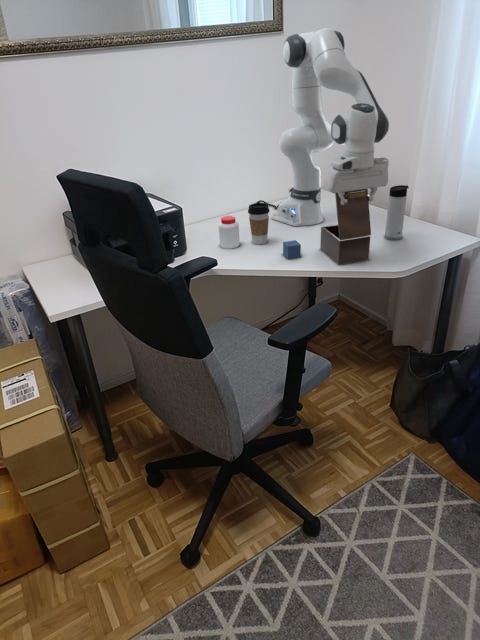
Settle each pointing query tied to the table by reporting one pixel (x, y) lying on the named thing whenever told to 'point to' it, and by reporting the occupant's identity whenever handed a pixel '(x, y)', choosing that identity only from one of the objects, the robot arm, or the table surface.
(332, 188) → the robot arm
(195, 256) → the table surface
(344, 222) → the lid
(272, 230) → the table surface
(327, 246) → the chest
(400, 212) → the travel mug
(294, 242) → the block
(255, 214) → the coffee cup
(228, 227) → the pill bottle
